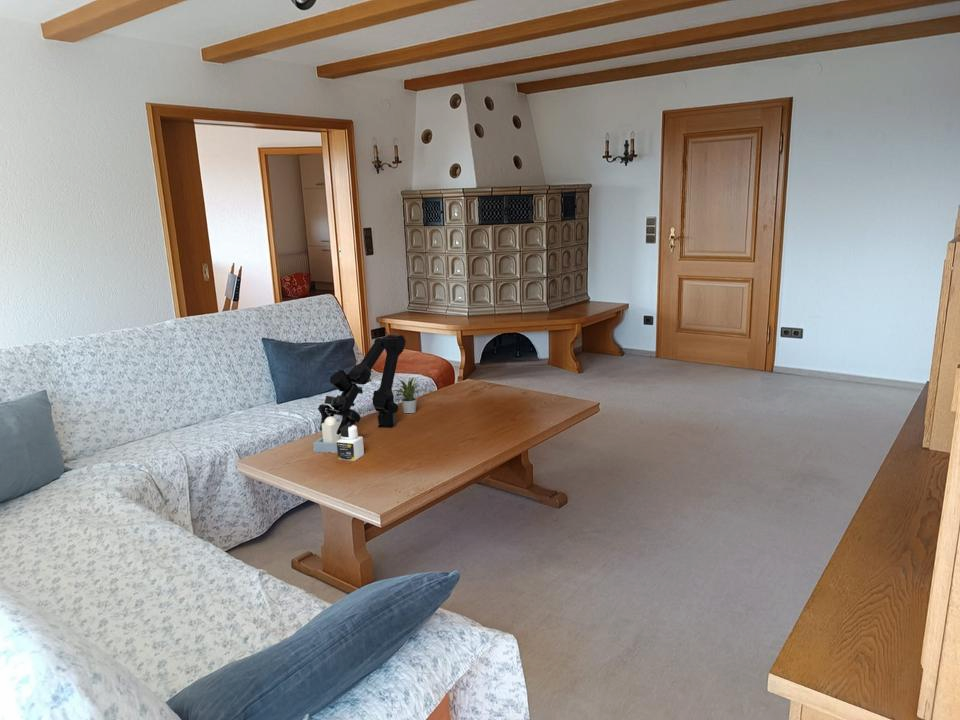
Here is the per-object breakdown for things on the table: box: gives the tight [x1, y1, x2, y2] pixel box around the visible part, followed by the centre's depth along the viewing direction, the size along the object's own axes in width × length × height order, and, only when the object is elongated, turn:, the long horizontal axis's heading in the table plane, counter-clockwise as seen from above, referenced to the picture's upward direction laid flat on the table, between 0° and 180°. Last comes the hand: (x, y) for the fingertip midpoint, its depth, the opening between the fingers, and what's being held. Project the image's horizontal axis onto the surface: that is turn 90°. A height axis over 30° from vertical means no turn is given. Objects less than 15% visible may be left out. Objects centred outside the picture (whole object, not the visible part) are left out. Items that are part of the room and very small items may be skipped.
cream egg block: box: [321, 416, 341, 443], centre depth 254 cm, size 5×5×12 cm
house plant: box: [392, 376, 423, 414], centre depth 297 cm, size 14×14×16 cm
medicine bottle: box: [336, 424, 365, 462], centre depth 243 cm, size 7×7×12 cm
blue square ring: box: [312, 435, 338, 454], centre depth 255 cm, size 11×11×4 cm
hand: (328, 432), depth 253 cm, fingers open, 9 cm apart
